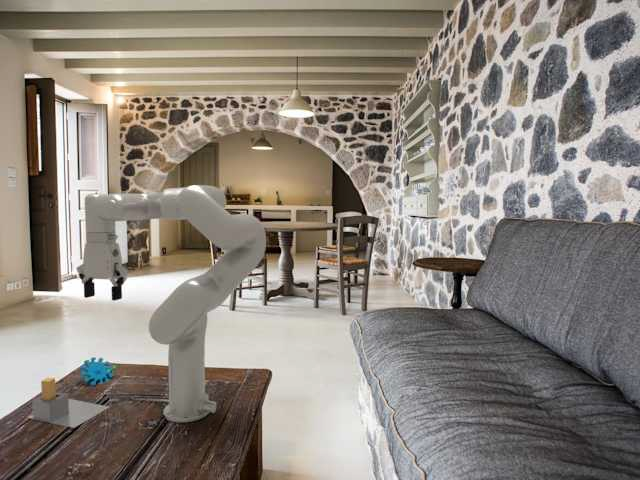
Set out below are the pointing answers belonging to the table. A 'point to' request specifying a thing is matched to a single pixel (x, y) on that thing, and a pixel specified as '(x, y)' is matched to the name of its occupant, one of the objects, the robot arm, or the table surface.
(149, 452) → the table surface
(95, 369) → the blue spiky virus toy
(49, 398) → the tan square peg
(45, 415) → the grey square socket base
